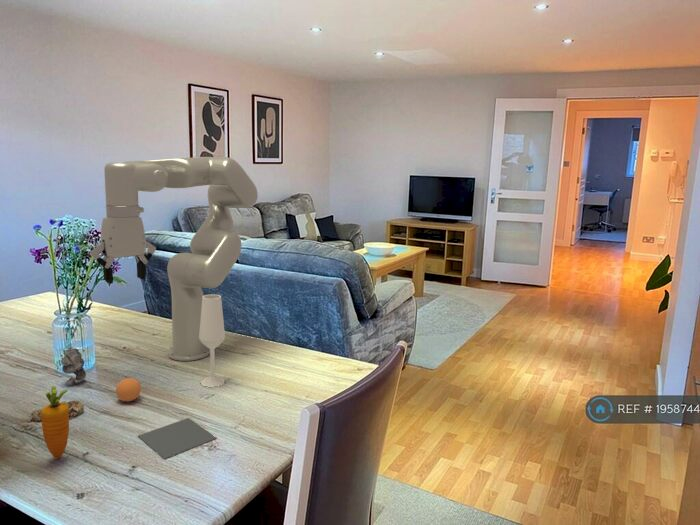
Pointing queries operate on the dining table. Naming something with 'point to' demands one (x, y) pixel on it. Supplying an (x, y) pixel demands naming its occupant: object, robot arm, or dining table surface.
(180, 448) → the slate mark
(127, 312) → the dining table surface
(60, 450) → the carrot
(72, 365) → the seashell
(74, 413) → the mineral rock
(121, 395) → the ball
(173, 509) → the dining table surface
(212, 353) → the champagne flute
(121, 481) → the dining table surface
